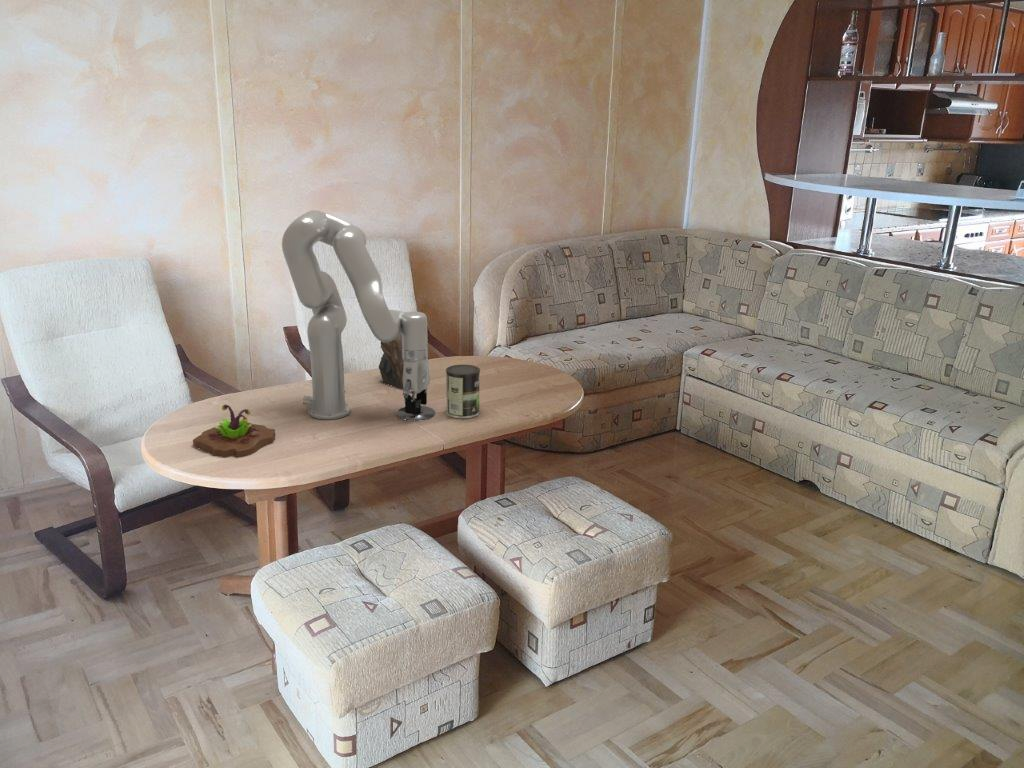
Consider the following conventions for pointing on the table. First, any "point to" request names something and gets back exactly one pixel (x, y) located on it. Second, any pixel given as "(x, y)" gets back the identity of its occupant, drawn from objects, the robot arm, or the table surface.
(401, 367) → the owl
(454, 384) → the coffee can
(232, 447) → the plant
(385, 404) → the table surface
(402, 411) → the lid
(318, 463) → the table surface
